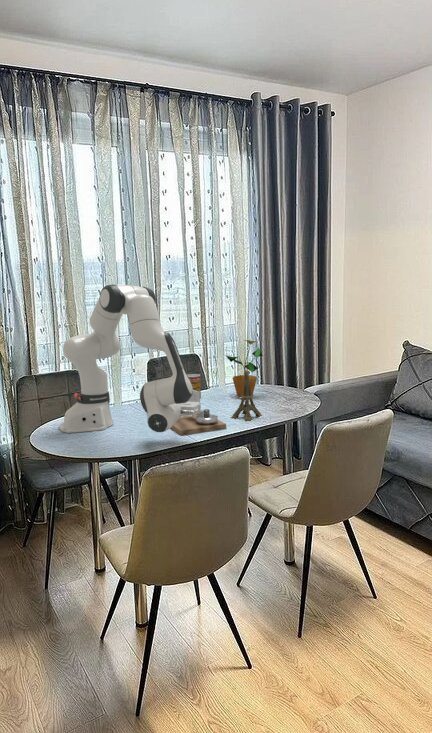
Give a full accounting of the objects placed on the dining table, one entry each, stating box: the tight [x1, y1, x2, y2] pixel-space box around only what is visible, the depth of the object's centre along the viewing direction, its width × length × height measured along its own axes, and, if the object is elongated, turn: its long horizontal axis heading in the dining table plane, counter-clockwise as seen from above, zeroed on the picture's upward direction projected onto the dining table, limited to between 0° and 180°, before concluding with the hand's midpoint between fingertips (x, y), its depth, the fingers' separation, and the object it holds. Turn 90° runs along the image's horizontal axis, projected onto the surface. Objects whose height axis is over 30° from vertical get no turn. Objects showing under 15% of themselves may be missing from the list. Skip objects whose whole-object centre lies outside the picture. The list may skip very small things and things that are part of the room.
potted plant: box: [225, 339, 264, 398], centre depth 287 cm, size 18×19×30 cm
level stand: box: [170, 415, 227, 436], centre depth 240 cm, size 20×25×13 cm
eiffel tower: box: [230, 367, 263, 422], centre depth 249 cm, size 11×11×25 cm
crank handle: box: [187, 390, 219, 425], centre depth 239 cm, size 20×9×12 cm, turn 42°
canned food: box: [186, 373, 202, 400], centre depth 286 cm, size 8×8×12 cm
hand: (178, 402), depth 224 cm, fingers closed
